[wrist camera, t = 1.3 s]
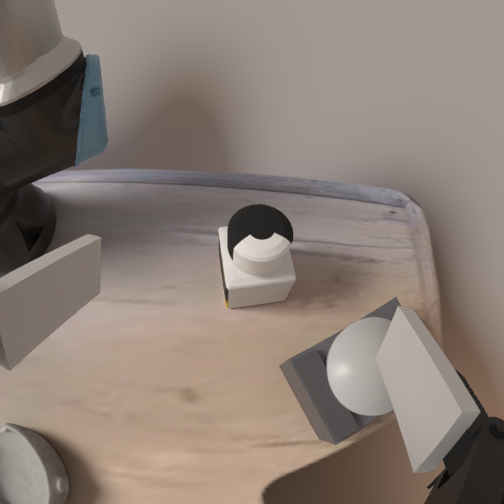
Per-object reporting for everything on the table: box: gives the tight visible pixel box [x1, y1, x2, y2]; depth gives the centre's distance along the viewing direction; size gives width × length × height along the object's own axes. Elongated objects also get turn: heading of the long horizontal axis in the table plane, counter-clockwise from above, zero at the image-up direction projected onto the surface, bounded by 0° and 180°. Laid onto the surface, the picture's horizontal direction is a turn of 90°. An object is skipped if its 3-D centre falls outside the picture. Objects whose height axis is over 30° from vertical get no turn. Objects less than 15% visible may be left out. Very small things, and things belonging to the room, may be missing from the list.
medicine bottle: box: [218, 205, 296, 308], centre depth 34 cm, size 7×7×12 cm
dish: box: [0, 423, 70, 504], centre depth 23 cm, size 14×14×5 cm
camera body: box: [280, 297, 401, 445], centre depth 31 cm, size 10×14×8 cm
